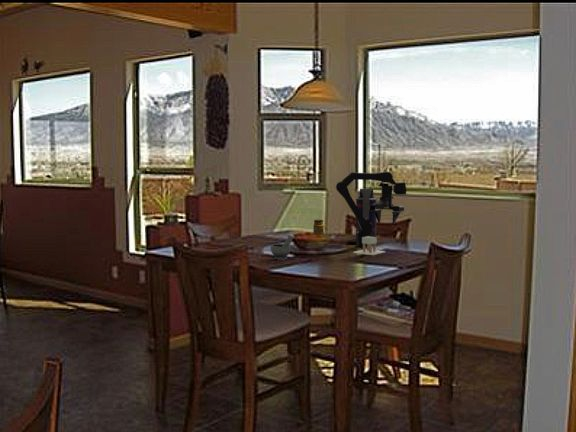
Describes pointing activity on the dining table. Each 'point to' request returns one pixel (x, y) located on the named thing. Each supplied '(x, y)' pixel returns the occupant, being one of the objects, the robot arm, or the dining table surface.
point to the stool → (369, 243)
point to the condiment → (318, 227)
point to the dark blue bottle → (366, 209)
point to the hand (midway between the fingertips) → (386, 223)
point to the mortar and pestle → (282, 249)
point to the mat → (368, 252)
